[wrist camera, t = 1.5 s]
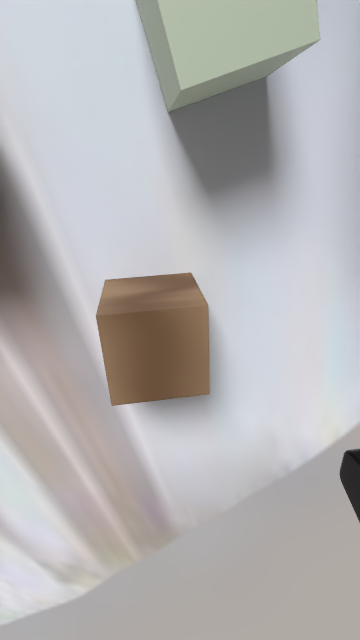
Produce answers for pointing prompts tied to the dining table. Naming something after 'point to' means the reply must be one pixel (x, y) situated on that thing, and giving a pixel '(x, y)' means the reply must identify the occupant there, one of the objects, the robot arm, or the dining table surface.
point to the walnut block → (154, 338)
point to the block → (223, 42)
